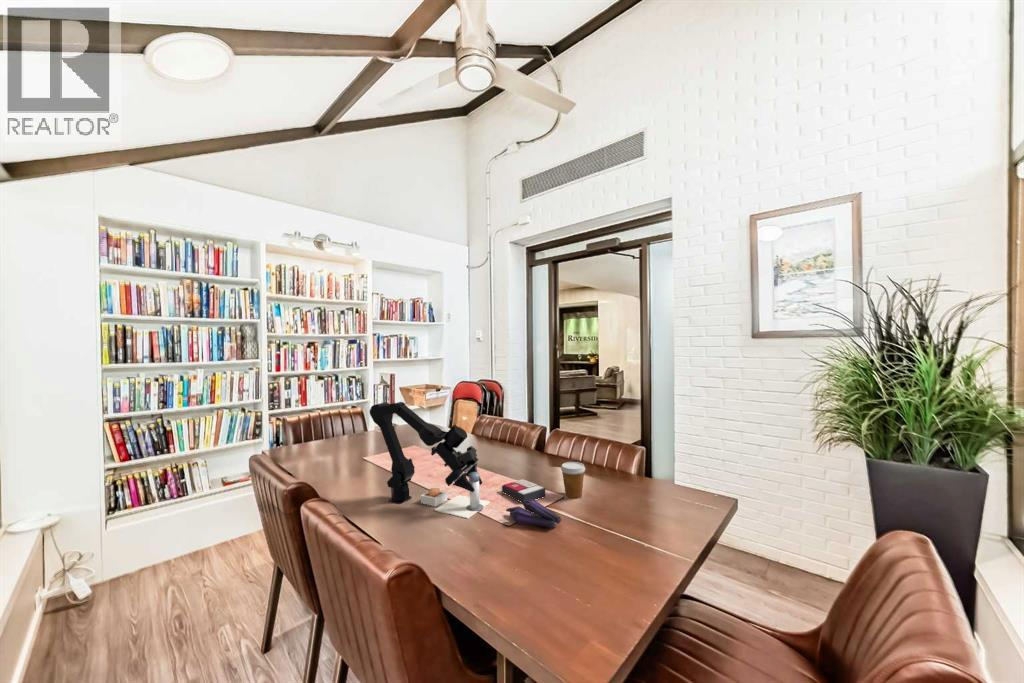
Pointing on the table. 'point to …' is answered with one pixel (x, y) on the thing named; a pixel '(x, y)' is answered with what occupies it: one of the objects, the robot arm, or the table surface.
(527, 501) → the purple stapler
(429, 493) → the button
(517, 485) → the red gray flat box
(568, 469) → the disposable coffee cup
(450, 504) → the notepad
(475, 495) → the white gray cylinder
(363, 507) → the table surface
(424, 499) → the button housing
